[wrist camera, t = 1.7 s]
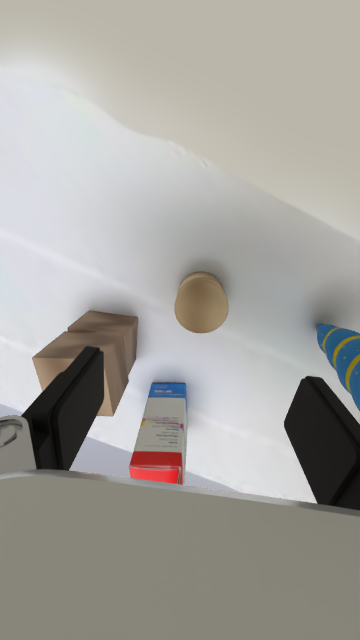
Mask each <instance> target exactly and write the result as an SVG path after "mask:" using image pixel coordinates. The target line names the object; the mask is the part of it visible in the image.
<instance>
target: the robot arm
mask: <svg viewBox="0 0 360 640" xmlns="http://www.w3.org/2000/svg"><path fill="white" fill-rule="evenodd" d="M103 401H104V352H103V351H100V348H99V347H92V346H86V347H85V348H84V349H83V350H82V351H81V353H80V354H79V355H78V356H77V357H76V358H75V359H74V361H73V362H72V363H71V364H70V365H69V366H68V368H67V369H66V370H65V371H63V372H60V373H59V374H58V375H57V376H56V377H55V378H54V380H53V381H52V382H51V383H50V384H49V385H48V386H47V387H46V389H45V390H44V391H43V392H42V393H41V394H40V395H39V396H38V398H37V399H36V400H35V401H34V402H33V403H32V404H31V405H30V406H29V408H28V409H27V410H26V411H25V412H24V413H23V414H22V416H17V415H13V416H5V417H1V418H0V640H360V424H359V423H358V422H357V421H356V419H355V418H354V417H353V416H352V414H351V413H350V412H349V411H348V409H347V408H346V407H345V406H344V405H343V403H342V402H341V401H340V400H339V398H338V397H337V396H336V395H335V393H334V392H333V391H332V390H331V389H330V387H329V386H328V385H327V384H326V382H325V381H324V380H323V379H322V378H320V377H312V376H307V377H305V379H302V380H301V382H300V384H299V387H298V389H297V391H296V394H295V396H294V399H293V401H292V403H291V406H290V408H289V411H288V413H287V415H286V418H285V421H284V427H285V430H286V432H287V435H288V437H289V439H290V442H291V444H292V446H293V448H294V451H295V453H296V455H297V458H298V460H299V462H300V464H301V467H302V469H303V471H304V474H305V476H306V478H307V481H308V483H309V485H310V487H311V490H312V492H313V494H314V497H315V499H316V501H317V503H318V504H315V503H308V502H301V501H294V500H287V499H281V498H274V497H267V496H260V495H252V494H245V493H238V492H230V491H224V490H217V489H209V488H201V487H195V486H188V485H180V484H173V483H165V482H158V481H150V480H142V479H135V478H127V477H120V476H112V475H103V474H94V473H85V472H77V471H69V469H70V467H71V465H72V463H73V461H74V459H75V457H76V455H77V453H78V451H79V449H80V447H81V445H82V443H83V441H84V439H85V437H86V435H87V433H88V431H89V429H90V427H91V425H92V423H93V421H94V419H95V418H96V416H97V414H98V412H99V410H100V408H101V406H102V404H103Z"/></svg>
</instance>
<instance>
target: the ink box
mask: <svg viewBox="0 0 360 640" xmlns="http://www.w3.org/2000/svg"><path fill="white" fill-rule="evenodd" d="M186 446H187V403H186V384H167V383H152V384H151V388H150V392H149V396H148V400H147V403H146V407H145V411H144V415H143V419H142V422H141V426H140V430H139V433H138V437H137V441H136V444H135V448H134V452H133V455H132V459H131V462H130V466H129V469H130V475H131V478H135V479H142V480H150V481H158V482H165V483H173V484H180V485H184V482H185V465H186Z"/></svg>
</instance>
